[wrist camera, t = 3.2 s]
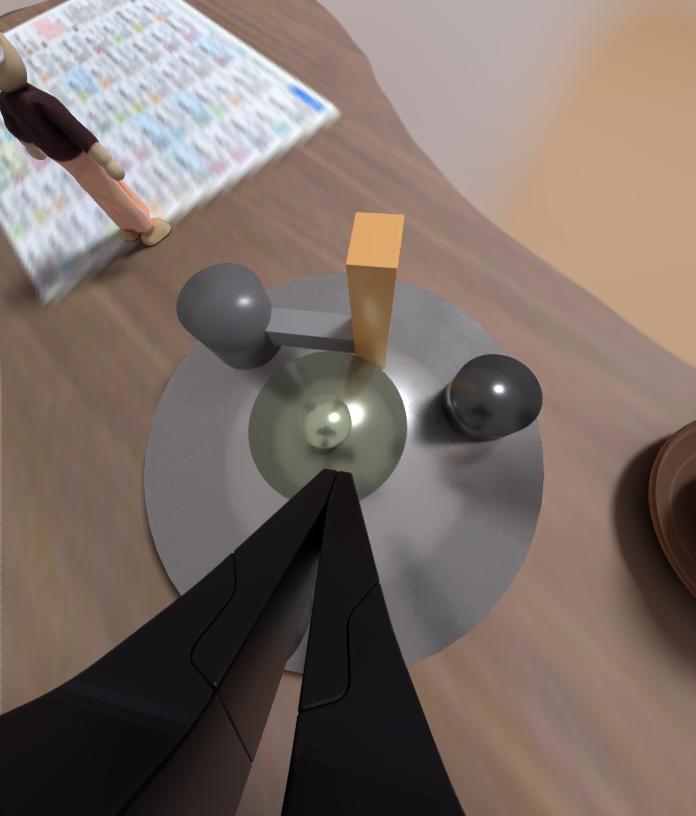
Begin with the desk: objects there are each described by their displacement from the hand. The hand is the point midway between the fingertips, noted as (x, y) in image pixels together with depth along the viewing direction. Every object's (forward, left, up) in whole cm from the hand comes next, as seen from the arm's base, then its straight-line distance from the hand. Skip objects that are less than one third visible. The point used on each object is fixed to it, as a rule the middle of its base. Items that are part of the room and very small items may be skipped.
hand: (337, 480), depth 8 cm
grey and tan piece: (+3, +9, -8) cm, 13 cm away
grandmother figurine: (0, +29, -10) cm, 30 cm away
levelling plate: (+1, +3, -9) cm, 10 cm away
